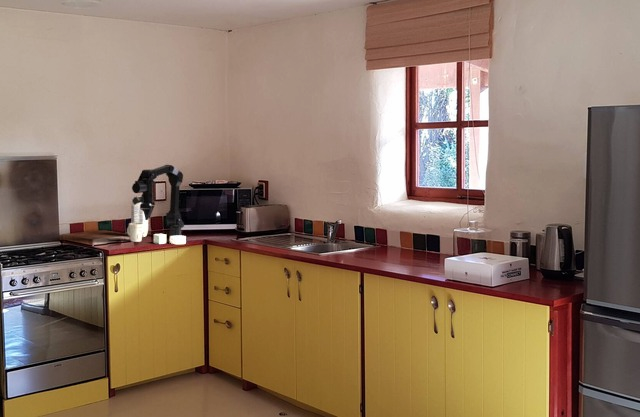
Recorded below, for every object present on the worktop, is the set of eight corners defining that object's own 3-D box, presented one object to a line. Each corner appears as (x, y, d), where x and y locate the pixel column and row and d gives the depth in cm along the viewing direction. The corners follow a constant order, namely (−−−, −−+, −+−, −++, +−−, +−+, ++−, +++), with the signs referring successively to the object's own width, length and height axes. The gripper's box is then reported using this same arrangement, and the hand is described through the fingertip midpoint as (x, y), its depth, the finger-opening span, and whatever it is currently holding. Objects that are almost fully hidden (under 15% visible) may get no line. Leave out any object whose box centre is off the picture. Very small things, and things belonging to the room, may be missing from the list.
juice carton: (148, 235, 452) (149, 196, 449) (146, 237, 444) (146, 197, 441) (133, 235, 452) (133, 195, 449) (130, 237, 444) (130, 196, 441)
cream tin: (178, 241, 435) (178, 234, 434) (188, 243, 429) (189, 236, 429) (166, 243, 428) (166, 236, 427) (176, 245, 422) (177, 238, 422)
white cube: (160, 242, 429) (160, 233, 429) (166, 243, 426) (166, 234, 426) (153, 243, 425) (153, 234, 425) (159, 244, 422) (159, 235, 422)
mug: (134, 242, 424) (135, 225, 423) (120, 239, 431) (120, 222, 430) (146, 241, 430) (146, 224, 429) (132, 238, 438) (132, 221, 437)
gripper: (135, 190, 432) (135, 216, 434) (130, 193, 414) (130, 221, 416) (155, 190, 434) (155, 217, 435) (151, 193, 415) (151, 221, 417)
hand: (147, 219), depth 426 cm, fingers open, 9 cm apart
